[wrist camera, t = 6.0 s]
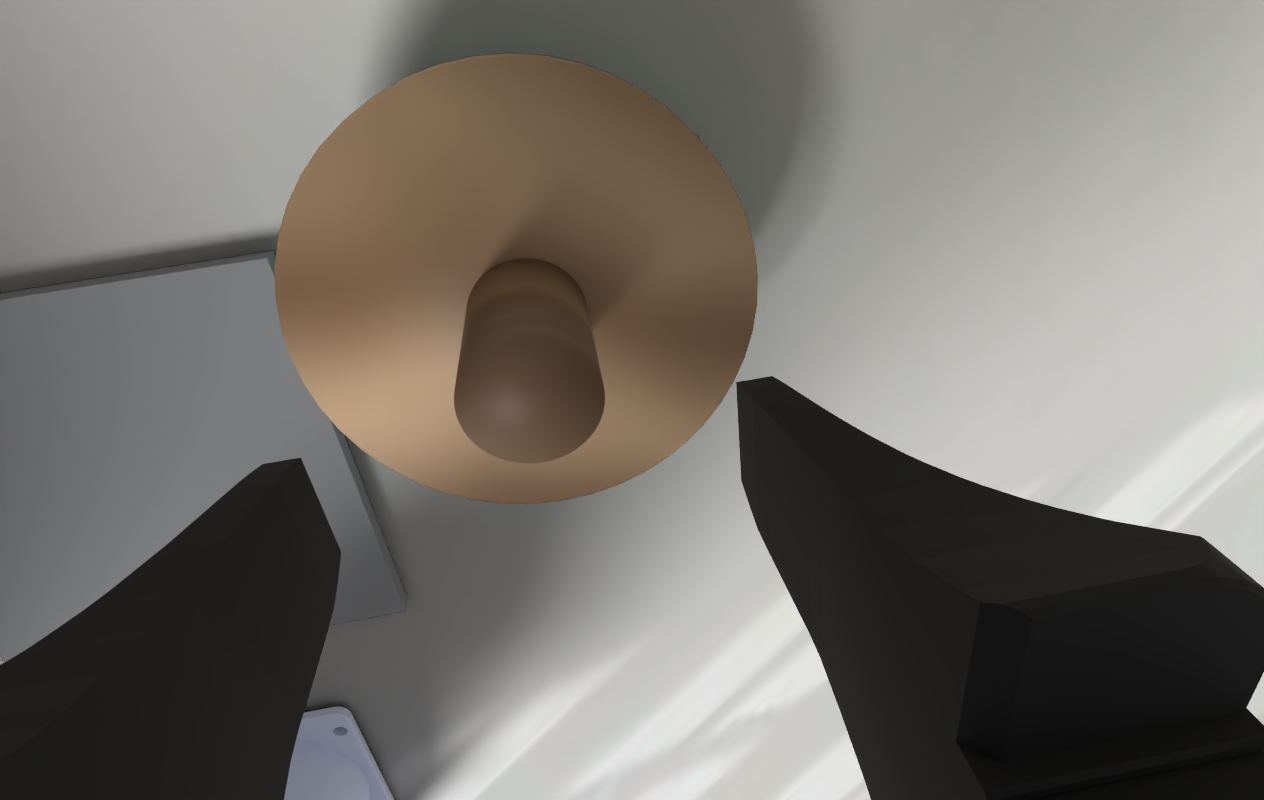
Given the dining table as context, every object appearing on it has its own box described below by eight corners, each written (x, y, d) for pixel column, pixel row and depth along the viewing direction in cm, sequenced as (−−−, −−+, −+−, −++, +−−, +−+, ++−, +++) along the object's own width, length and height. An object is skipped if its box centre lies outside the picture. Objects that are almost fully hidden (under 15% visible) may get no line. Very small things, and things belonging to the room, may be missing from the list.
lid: (732, 470, 21) (783, 590, 17) (336, 501, 20) (290, 638, 16) (769, 50, 16) (857, 79, 12) (226, 55, 15) (111, 90, 10)
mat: (407, 599, 26) (405, 611, 26) (31, 667, 26) (21, 682, 25) (273, 250, 20) (266, 258, 19) (-241, 330, 19) (-262, 340, 18)
